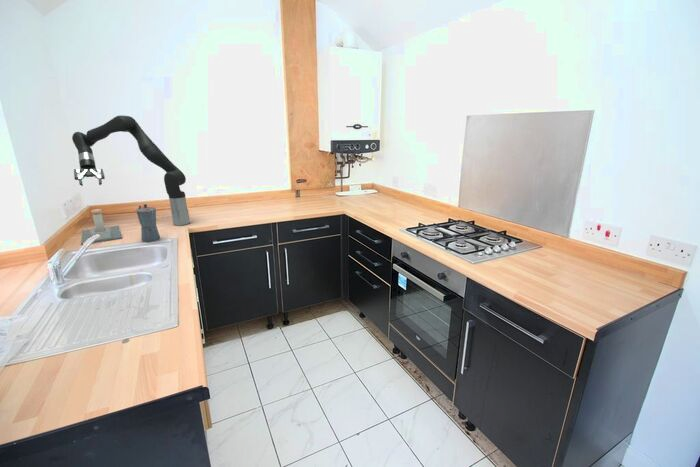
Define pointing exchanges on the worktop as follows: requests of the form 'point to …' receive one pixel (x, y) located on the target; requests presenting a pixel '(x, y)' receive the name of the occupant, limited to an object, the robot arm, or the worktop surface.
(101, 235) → the mount
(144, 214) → the moka pot
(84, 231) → the board
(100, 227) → the grey upright post
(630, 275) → the worktop surface
